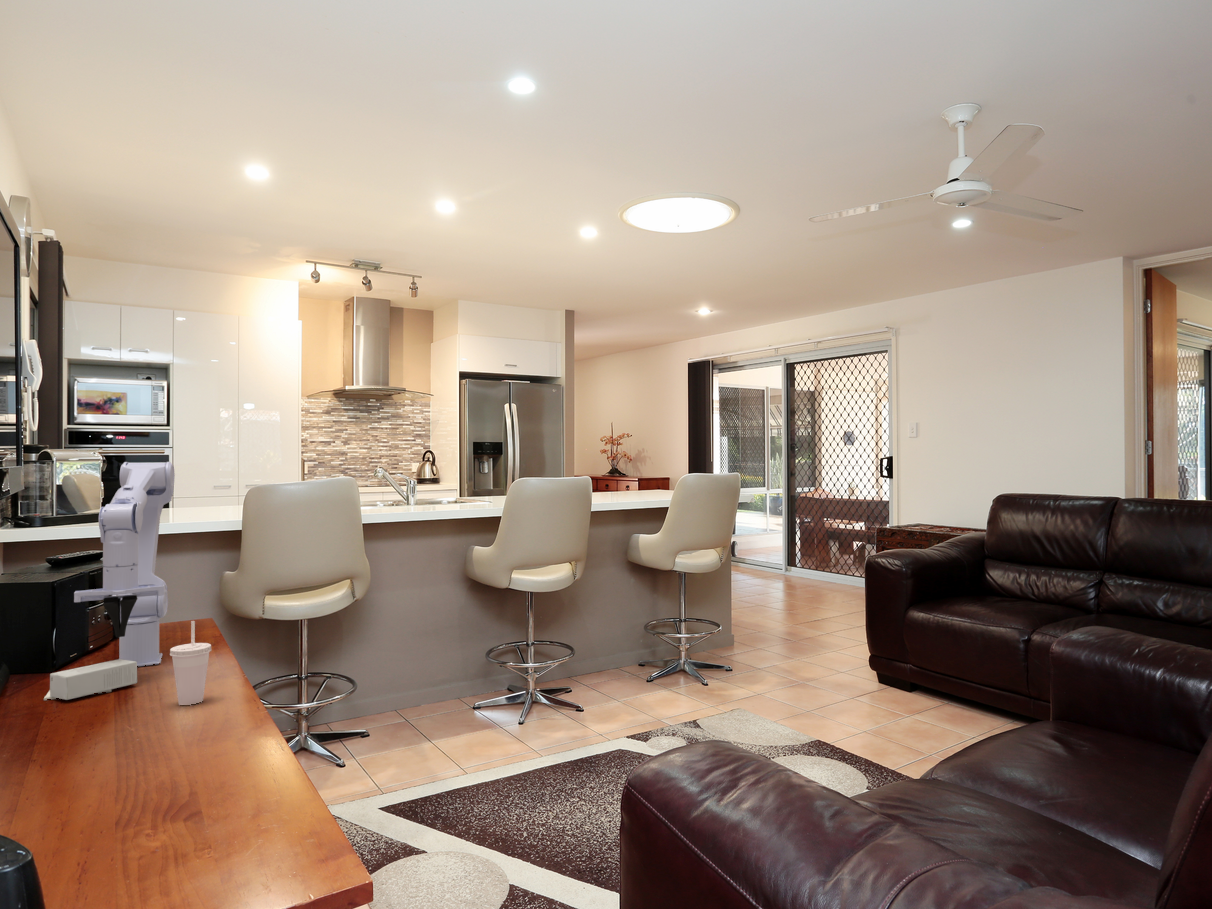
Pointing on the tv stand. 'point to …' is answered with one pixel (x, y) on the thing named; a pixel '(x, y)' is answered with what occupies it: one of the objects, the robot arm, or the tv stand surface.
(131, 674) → the skincare box
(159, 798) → the tv stand surface
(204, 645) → the smoothie
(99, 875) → the tv stand surface
